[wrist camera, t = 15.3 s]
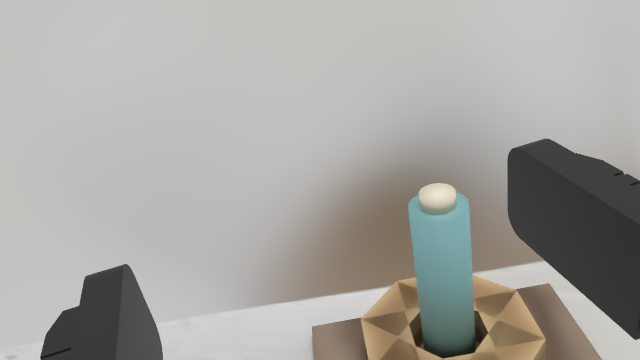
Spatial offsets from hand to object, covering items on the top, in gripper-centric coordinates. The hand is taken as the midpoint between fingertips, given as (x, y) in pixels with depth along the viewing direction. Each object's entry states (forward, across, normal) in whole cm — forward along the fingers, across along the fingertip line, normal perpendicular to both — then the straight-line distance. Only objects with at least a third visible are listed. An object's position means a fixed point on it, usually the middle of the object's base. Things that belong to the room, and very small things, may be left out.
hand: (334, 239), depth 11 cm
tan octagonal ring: (+19, -11, +29) cm, 36 cm away
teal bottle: (+19, -11, +29) cm, 36 cm away
